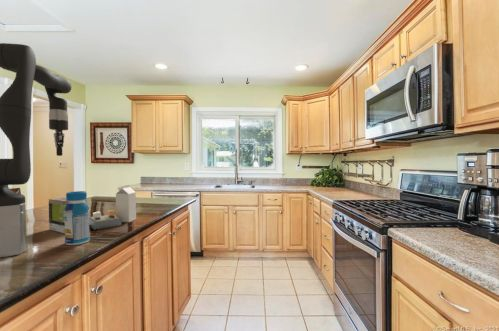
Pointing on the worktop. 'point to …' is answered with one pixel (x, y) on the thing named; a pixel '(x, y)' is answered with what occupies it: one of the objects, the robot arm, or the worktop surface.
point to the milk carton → (126, 204)
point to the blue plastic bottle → (76, 218)
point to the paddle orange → (111, 212)
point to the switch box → (104, 221)
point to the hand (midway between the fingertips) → (59, 155)
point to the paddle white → (97, 214)
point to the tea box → (57, 214)
